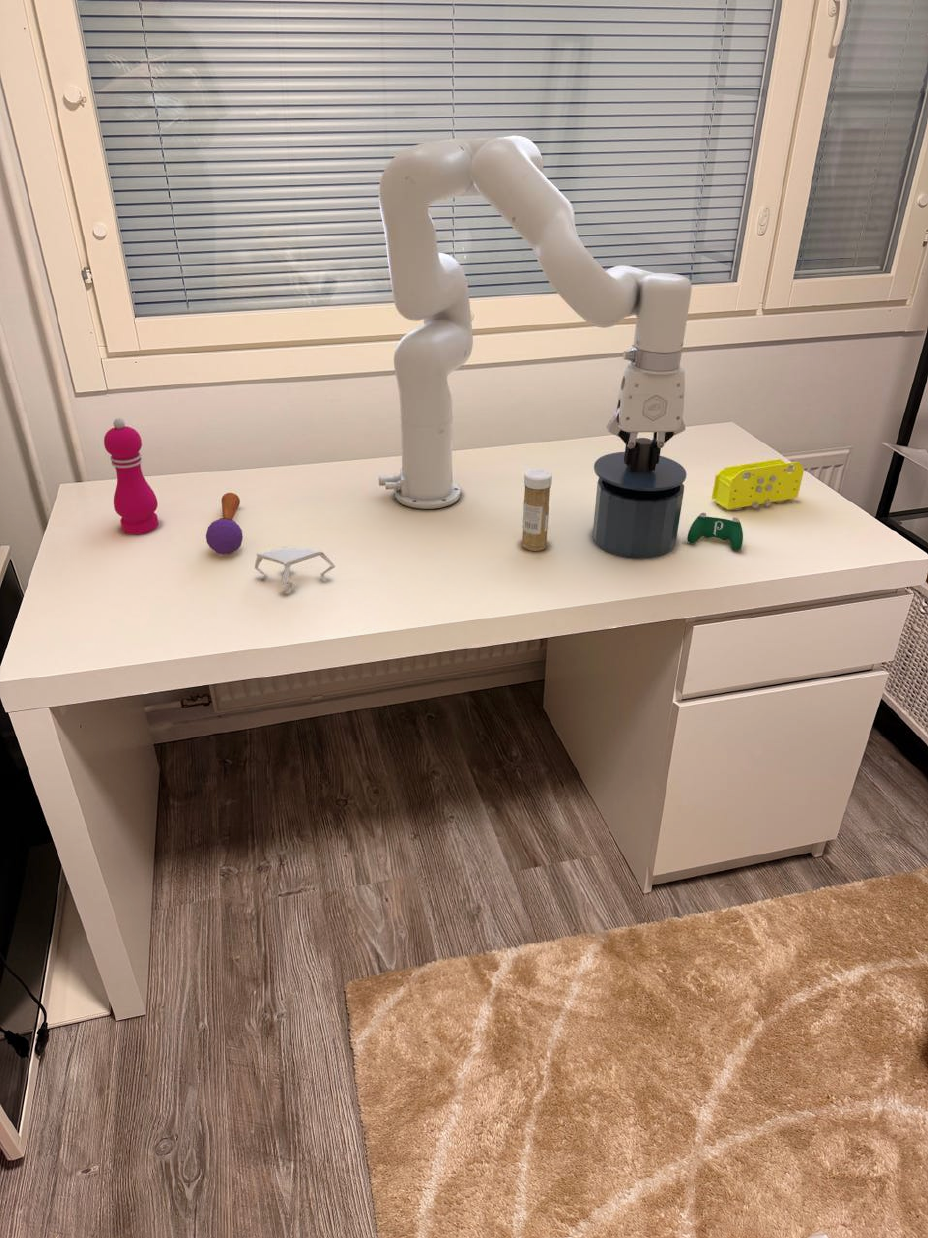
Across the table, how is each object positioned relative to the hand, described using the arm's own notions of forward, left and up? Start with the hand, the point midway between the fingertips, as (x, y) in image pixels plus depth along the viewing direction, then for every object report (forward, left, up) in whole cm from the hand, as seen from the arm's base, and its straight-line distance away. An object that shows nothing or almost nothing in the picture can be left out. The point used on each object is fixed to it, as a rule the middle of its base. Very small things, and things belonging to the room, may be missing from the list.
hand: (640, 466), depth 148 cm
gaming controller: (+14, -2, -14) cm, 20 cm away
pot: (0, 0, -13) cm, 14 cm away
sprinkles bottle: (-18, -1, -14) cm, 22 cm away
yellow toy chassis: (+27, +13, -14) cm, 33 cm away
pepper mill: (-87, +12, -14) cm, 88 cm away
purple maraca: (-71, +8, -14) cm, 72 cm away
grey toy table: (-58, -10, -14) cm, 60 cm away
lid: (0, 0, -1) cm, 1 cm away
